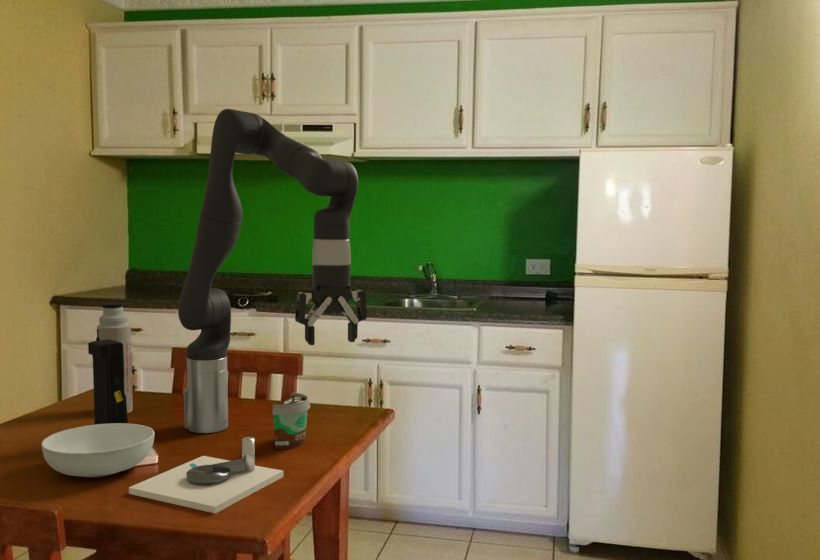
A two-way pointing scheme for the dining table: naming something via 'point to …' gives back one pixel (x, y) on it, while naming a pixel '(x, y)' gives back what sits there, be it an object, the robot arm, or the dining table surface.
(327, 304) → the robot arm
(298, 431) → the food container
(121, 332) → the thermos bottle
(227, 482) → the dial plate
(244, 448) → the dial
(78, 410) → the dining table surface
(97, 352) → the portable radio
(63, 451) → the serving bowl
